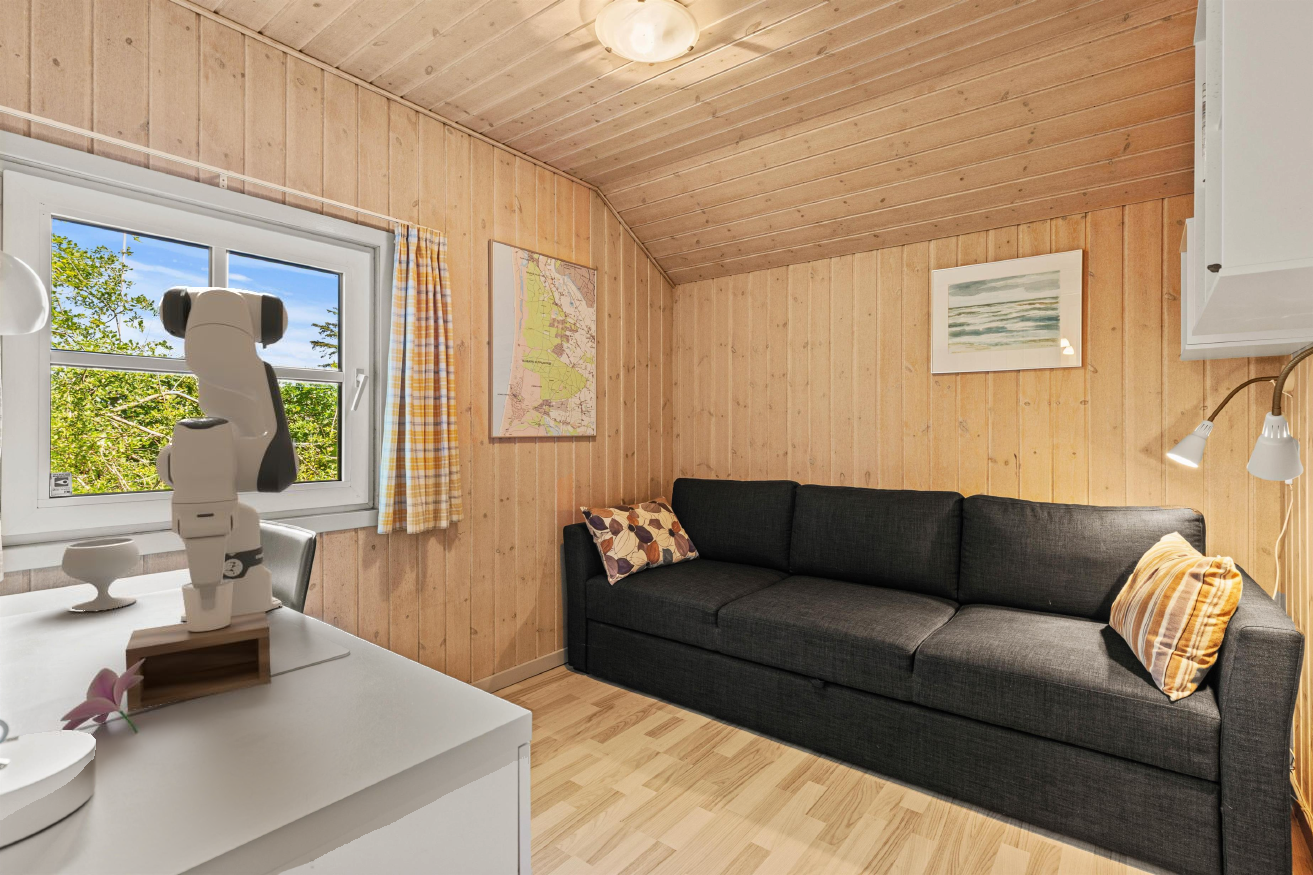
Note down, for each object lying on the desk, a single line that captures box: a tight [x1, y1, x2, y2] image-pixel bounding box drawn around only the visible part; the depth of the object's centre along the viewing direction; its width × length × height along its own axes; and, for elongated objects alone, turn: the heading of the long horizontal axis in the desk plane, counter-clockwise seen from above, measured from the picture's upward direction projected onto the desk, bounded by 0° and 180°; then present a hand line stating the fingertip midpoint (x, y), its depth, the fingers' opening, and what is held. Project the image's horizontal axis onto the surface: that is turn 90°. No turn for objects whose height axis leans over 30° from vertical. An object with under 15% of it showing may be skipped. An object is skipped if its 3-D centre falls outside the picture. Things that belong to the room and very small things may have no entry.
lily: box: [60, 658, 145, 734], centre depth 89 cm, size 12×12×10 cm
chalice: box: [61, 537, 141, 612], centre depth 154 cm, size 14×14×15 cm
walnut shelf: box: [125, 611, 272, 712], centre depth 105 cm, size 11×18×9 cm, turn 124°
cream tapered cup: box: [181, 579, 234, 632], centre depth 106 cm, size 7×7×7 cm
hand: (208, 604), depth 106 cm, fingers closed on cream tapered cup, 5 cm apart
